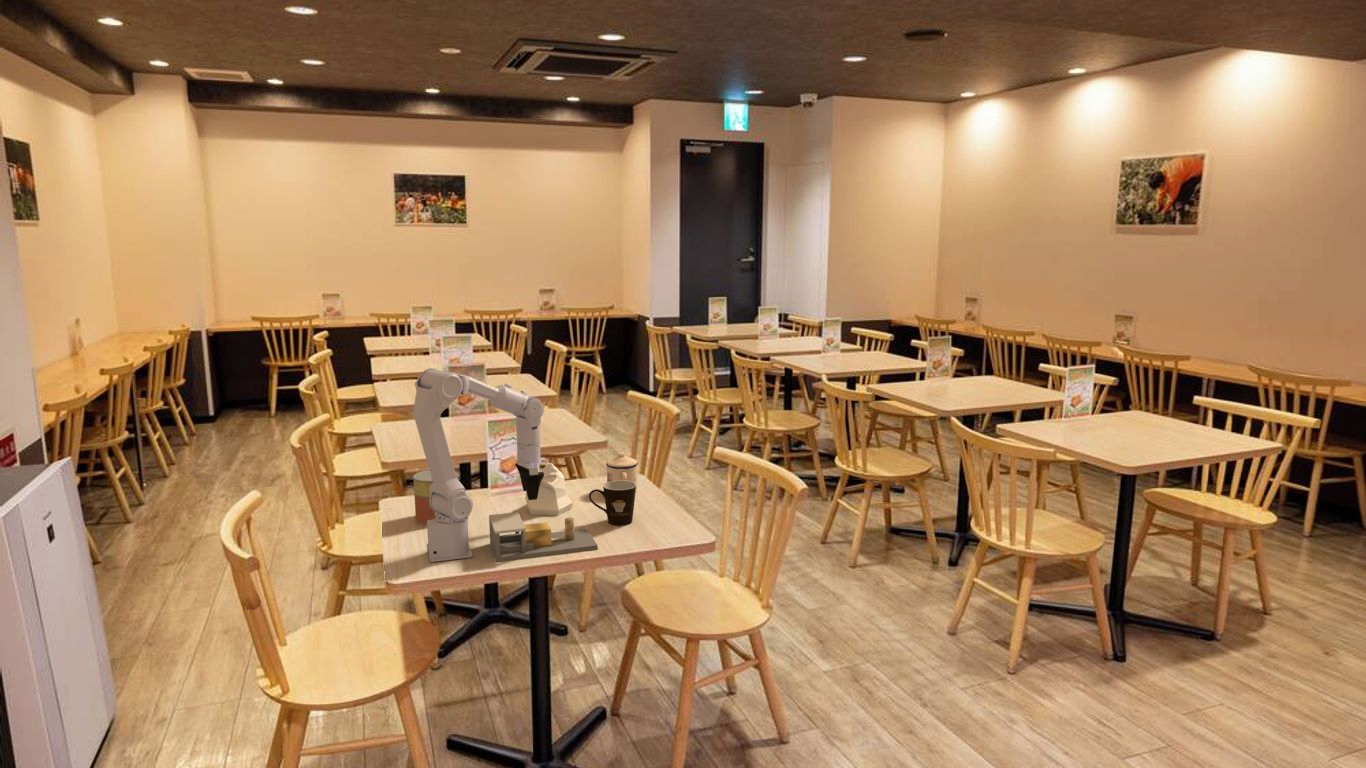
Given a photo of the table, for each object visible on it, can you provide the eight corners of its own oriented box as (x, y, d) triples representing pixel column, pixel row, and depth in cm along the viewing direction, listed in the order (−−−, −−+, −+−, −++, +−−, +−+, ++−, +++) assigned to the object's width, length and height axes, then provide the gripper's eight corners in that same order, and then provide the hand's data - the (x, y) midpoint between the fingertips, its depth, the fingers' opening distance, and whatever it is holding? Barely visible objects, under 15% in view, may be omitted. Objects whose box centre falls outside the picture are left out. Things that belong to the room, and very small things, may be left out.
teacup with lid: (604, 487, 254) (604, 449, 252) (635, 486, 255) (635, 448, 253) (609, 500, 242) (608, 460, 240) (641, 498, 244) (640, 459, 242)
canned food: (457, 524, 223) (455, 480, 221) (412, 526, 221) (409, 482, 219) (461, 510, 234) (459, 467, 232) (418, 512, 232) (416, 469, 230)
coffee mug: (642, 518, 227) (642, 482, 225) (626, 529, 219) (626, 491, 218) (604, 512, 232) (603, 477, 230) (587, 522, 224) (586, 485, 222)
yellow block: (526, 547, 204) (525, 527, 203) (523, 540, 208) (522, 520, 208) (576, 541, 208) (575, 521, 207) (572, 534, 212) (571, 515, 211)
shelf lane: (496, 561, 198) (495, 531, 197) (490, 543, 210) (489, 515, 208) (597, 549, 206) (597, 520, 205) (586, 532, 217) (586, 504, 216)
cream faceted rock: (584, 508, 240) (590, 464, 235) (547, 528, 228) (553, 482, 223) (550, 490, 246) (556, 447, 240) (513, 509, 234) (518, 463, 228)
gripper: (549, 448, 209) (551, 501, 211) (539, 434, 222) (541, 485, 225) (520, 450, 207) (522, 504, 209) (512, 436, 220) (513, 487, 223)
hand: (530, 494), depth 217 cm, fingers open, 7 cm apart
